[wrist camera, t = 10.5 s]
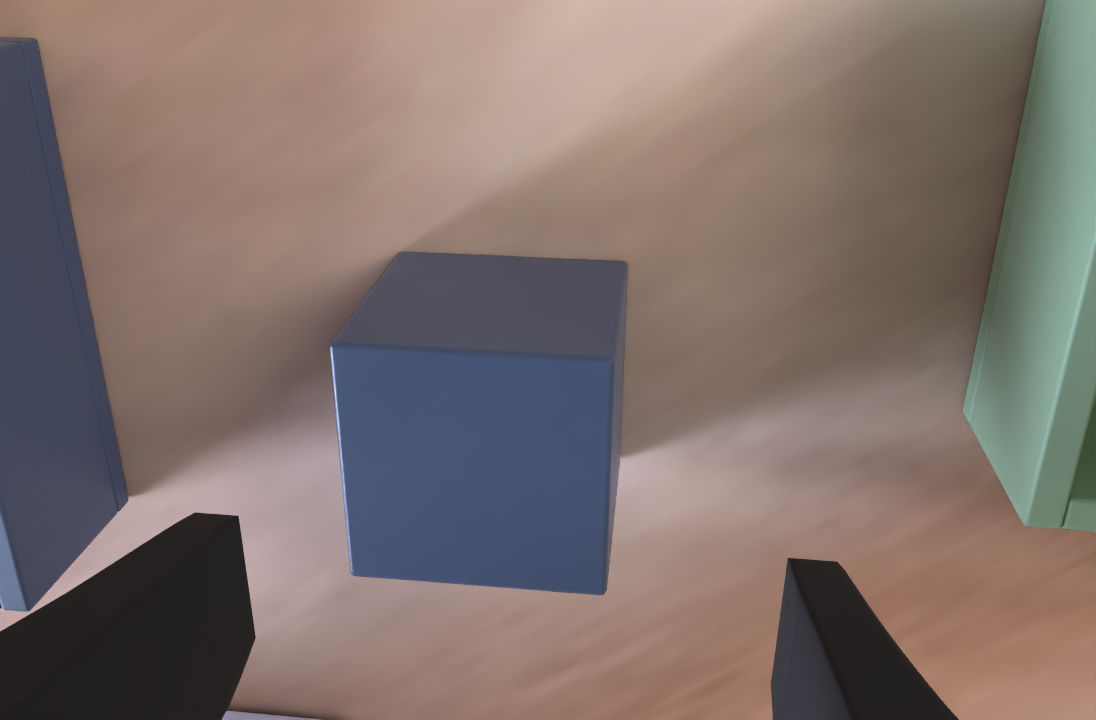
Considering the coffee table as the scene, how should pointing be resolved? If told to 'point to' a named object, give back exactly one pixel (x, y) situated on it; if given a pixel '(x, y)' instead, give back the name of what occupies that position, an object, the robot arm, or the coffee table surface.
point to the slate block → (483, 420)
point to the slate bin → (45, 355)
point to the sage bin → (1046, 291)
